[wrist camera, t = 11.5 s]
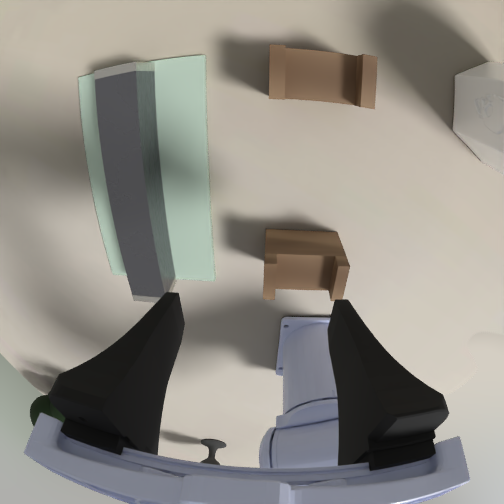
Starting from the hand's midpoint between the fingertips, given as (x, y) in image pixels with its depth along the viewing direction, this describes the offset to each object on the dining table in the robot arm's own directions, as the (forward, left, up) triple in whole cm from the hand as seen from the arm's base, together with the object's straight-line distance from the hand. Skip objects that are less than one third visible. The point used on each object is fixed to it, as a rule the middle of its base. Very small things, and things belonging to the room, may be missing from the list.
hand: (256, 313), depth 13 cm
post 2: (-3, -3, -10) cm, 11 cm away
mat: (+3, +9, -10) cm, 14 cm away
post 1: (+10, -3, -10) cm, 15 cm away
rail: (+3, +9, -10) cm, 14 cm away
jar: (+11, -18, -11) cm, 24 cm away
